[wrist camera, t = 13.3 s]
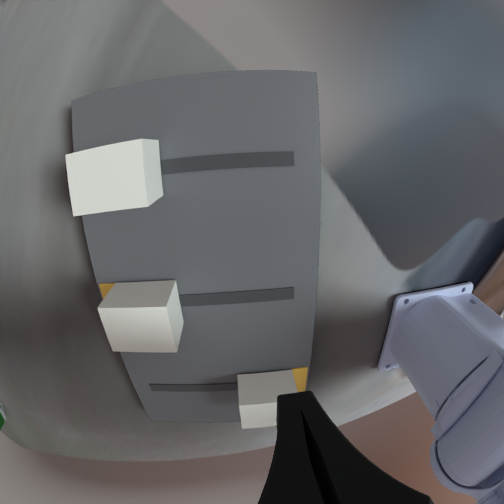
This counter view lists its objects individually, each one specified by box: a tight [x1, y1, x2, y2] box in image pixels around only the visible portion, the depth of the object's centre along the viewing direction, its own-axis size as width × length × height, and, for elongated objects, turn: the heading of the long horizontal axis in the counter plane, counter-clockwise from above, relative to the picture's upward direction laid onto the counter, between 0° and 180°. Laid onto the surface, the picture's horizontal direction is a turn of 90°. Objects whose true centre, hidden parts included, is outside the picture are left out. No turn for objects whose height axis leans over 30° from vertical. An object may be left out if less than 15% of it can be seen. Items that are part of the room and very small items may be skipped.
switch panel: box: [72, 70, 321, 422], centre depth 18 cm, size 14×26×2 cm, turn 3°
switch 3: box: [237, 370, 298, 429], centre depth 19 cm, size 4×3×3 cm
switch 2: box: [97, 280, 184, 353], centre depth 15 cm, size 4×3×3 cm
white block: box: [66, 139, 163, 216], centre depth 12 cm, size 4×3×3 cm
